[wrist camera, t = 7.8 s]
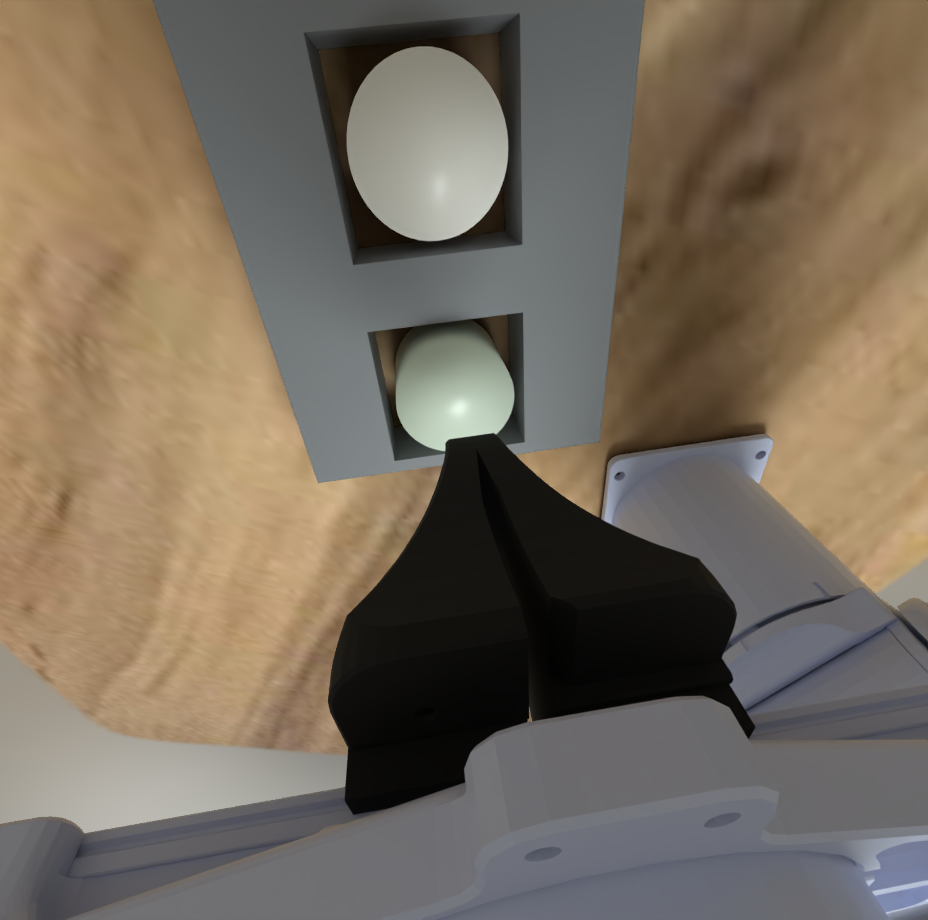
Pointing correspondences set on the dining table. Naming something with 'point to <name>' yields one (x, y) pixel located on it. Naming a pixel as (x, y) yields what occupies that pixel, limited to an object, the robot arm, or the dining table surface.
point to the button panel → (422, 262)
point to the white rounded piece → (427, 143)
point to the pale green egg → (451, 383)
